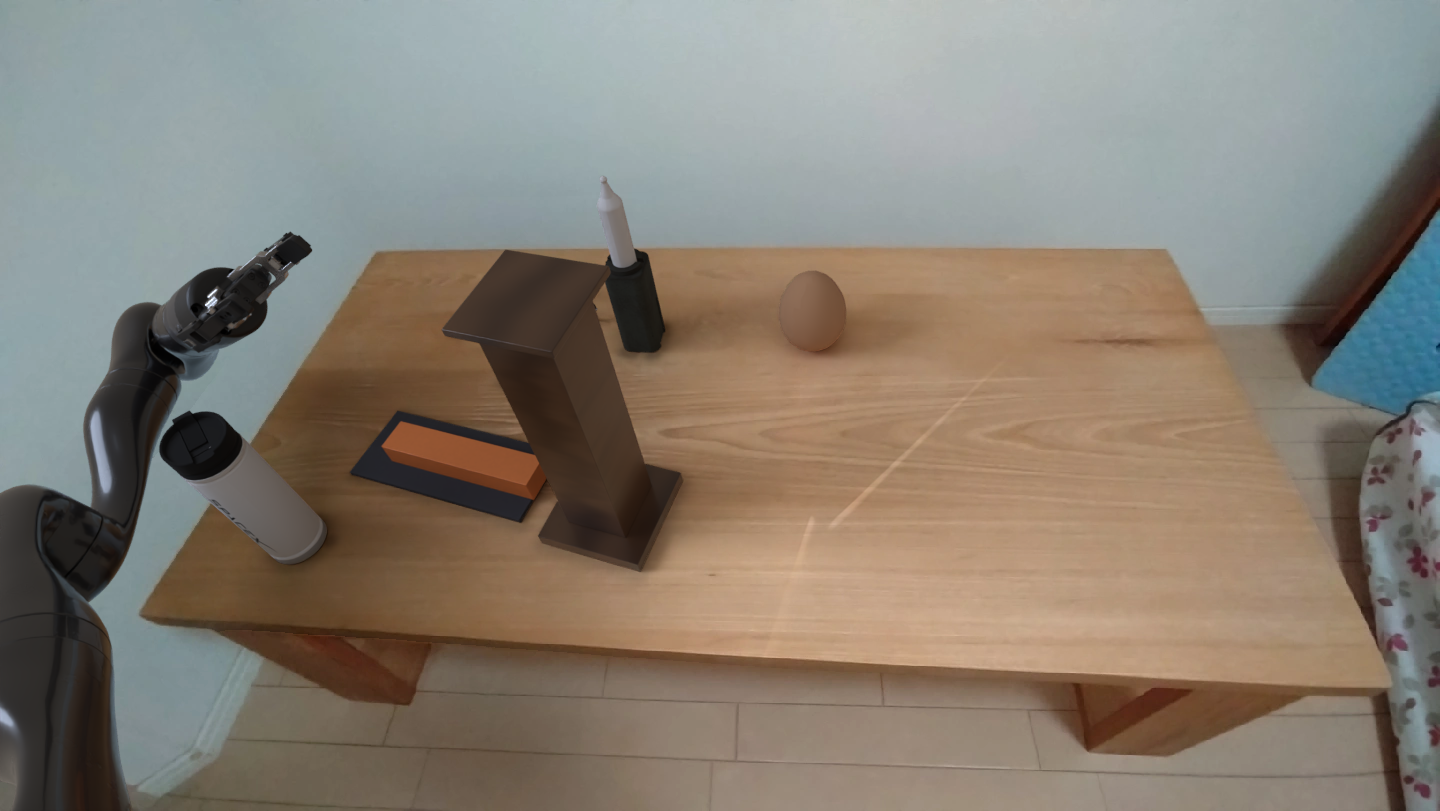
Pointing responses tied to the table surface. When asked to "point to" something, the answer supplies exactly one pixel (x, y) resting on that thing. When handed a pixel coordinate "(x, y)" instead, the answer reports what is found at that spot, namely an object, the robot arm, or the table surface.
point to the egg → (812, 311)
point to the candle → (629, 279)
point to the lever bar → (466, 459)
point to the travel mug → (242, 486)
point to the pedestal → (568, 403)
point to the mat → (436, 485)
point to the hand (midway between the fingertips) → (273, 272)
